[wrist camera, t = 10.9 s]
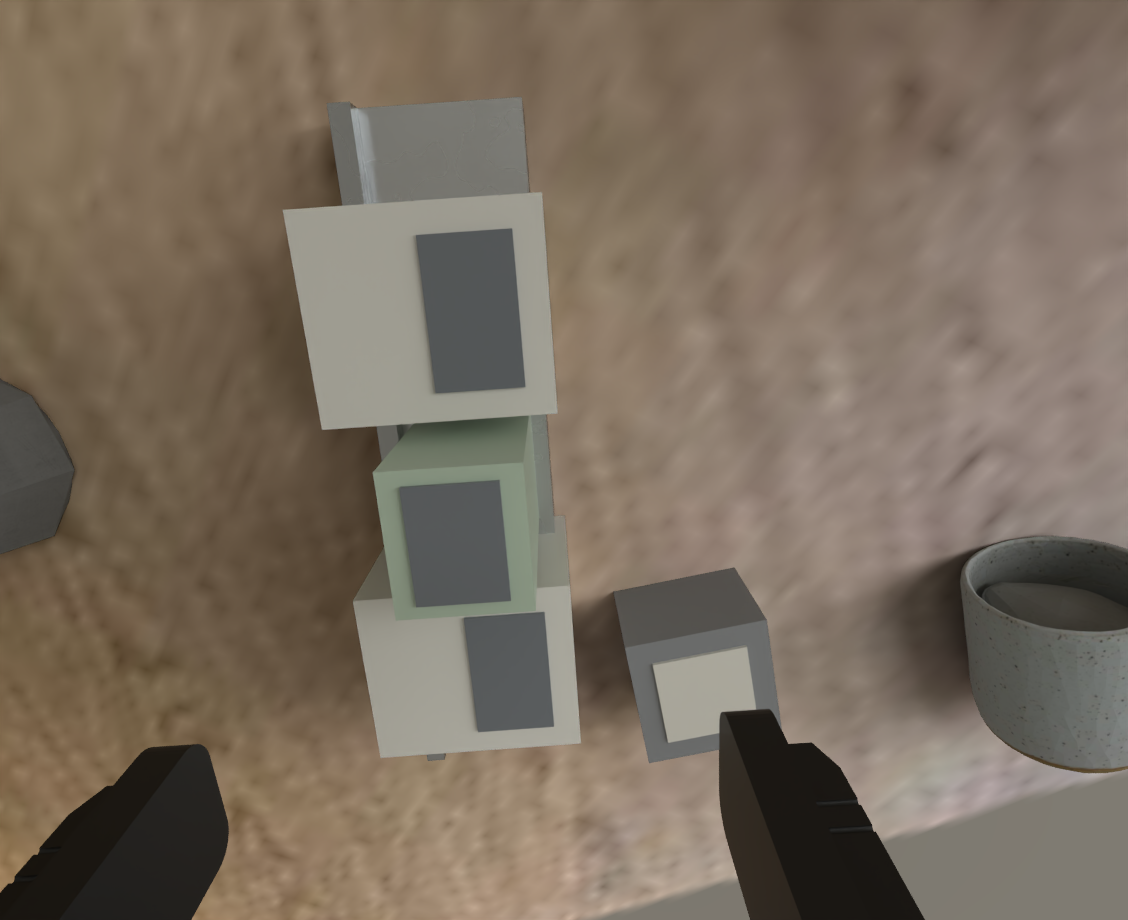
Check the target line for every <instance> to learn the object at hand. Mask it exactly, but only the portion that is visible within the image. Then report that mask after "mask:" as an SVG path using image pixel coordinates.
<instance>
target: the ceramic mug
mask: <svg viewBox="0 0 1128 920" xmlns="http://www.w3.org/2000/svg"><path fill="white" fill-rule="evenodd" d="M960 585H961V594H962V603H963V612H964V621H965V633H966V641H967V649H968V659H969V676H970V682H971V687H972V692H973V696H974V699H975V702H976V704H977V707H978V710H979V712H980V715H981V717H982V718H983V720H984V722H985V723H986V725H987V726H988V727H989V728H990V730H991V731H992V732H993V733H994V734H995V735H996V736H997V737H998V738H1000V739H1001V740H1002V741H1003V742H1004V743H1005V744H1007V745H1008V746H1010V747H1011V748H1013V749H1014V750H1016V751H1018V752H1020V753H1021V754H1023V755H1025V756H1027V757H1029V758H1031V759H1034V760H1036V761H1038V762H1040V763H1043V764H1046V765H1049V766H1052V767H1056V768H1060V769H1065V770H1071V771H1076V772H1082V773H1109V772H1115V771H1121V770H1125V769H1128V549H1126V548H1123V547H1119V546H1116V545H1113V544H1110V543H1106V542H1099V541H1095V540H1089V539H1080V538H1075V537H1058V536H1040V537H1027V538H1020V539H1014V540H1009V541H1004V542H1001V543H997V544H994V545H992V546H988V547H986V548H984V549H982V550H980V551H978V552H977V553H975V554H974V555H973V556H972V557H970V558H969V560H968V561H967V562H966V563H965V564H964V566H963V568H962V572H961V578H960Z"/></svg>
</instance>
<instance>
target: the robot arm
mask: <svg viewBox="0 0 1128 920" xmlns="http://www.w3.org/2000/svg"><path fill="white" fill-rule="evenodd" d="M719 796H720V807H721V814H722V820H723V826H724V831H725V835H726V839H727V842H728V846H729V849H730V852H731V856H732V859H733V863H734V866H735V869H736V873H737V876H738V880H739V883H740V887H741V890H742V893H743V897H744V900H745V904H746V907H747V911H748V914H749V917H750V920H925V919H924V918H923V916H922V914H921V912H920V910H919V908H918V907H917V905H916V903H915V901H914V899H913V898H912V896H911V894H910V892H909V890H908V889H907V887H906V885H905V883H904V882H903V880H902V878H901V876H900V875H899V873H898V871H897V869H896V867H895V865H894V863H893V862H892V860H891V858H890V856H889V854H888V853H887V851H886V849H885V847H884V845H883V844H882V842H881V840H880V838H879V837H878V835H877V833H876V832H874V831H873V829H872V824H871V822H870V820H869V819H868V817H867V815H866V813H865V811H864V810H863V808H862V806H861V805H859V804H858V800H857V797H856V795H855V793H854V792H853V790H852V788H851V786H850V784H849V783H848V781H847V779H846V777H845V775H844V774H843V772H842V770H841V768H840V767H839V766H838V765H837V764H835V763H834V762H833V761H832V760H831V759H830V758H829V757H828V756H826V755H825V754H824V753H823V752H822V751H821V750H820V749H818V748H817V747H816V746H815V745H814V744H813V743H798V744H788V742H787V740H786V738H785V736H784V734H783V732H782V730H781V728H780V726H779V724H778V721H777V719H776V717H775V715H774V714H773V712H772V711H771V710H770V709H758V710H742V711H727V712H721V714H720V720H719ZM228 834H229V828H228V820H227V816H226V812H225V809H224V805H223V802H222V798H221V794H220V791H219V787H218V784H217V780H216V776H215V773H214V769H213V766H212V762H211V759H210V755H209V753H208V751H207V749H206V748H205V747H204V746H203V745H200V744H193V745H178V746H163V747H151V748H148V749H146V750H144V751H143V752H142V753H141V754H140V755H139V756H138V757H137V758H136V759H135V760H134V762H133V763H132V764H131V765H130V766H129V768H128V769H127V770H126V771H125V772H124V773H123V775H122V776H121V777H120V778H119V779H118V781H117V782H116V783H115V784H114V785H113V786H106V787H105V788H104V789H102V790H101V791H100V792H98V793H97V794H96V795H94V796H93V797H92V798H90V799H89V800H88V801H86V802H85V803H84V804H82V805H81V806H80V807H78V808H77V809H76V810H75V811H73V812H72V813H71V814H69V815H68V816H67V817H66V819H65V820H64V821H63V822H62V823H61V824H60V825H59V826H58V828H57V829H56V830H55V831H54V832H53V833H52V834H51V836H50V837H49V838H48V839H47V840H46V841H45V842H44V844H43V845H42V846H41V847H40V848H39V849H40V851H39V853H38V855H33V856H32V857H31V858H30V860H29V861H28V862H27V863H26V864H25V865H24V866H23V867H22V869H21V870H20V871H19V872H18V873H17V874H16V875H15V880H14V882H13V883H12V884H8V885H7V886H6V887H5V888H4V889H3V890H2V891H1V893H0V920H191V919H192V917H193V916H194V914H195V912H196V910H197V908H198V907H199V905H200V903H201V901H202V899H203V897H204V896H205V894H206V892H207V890H208V888H209V887H210V885H211V883H212V881H213V879H214V878H215V876H216V874H217V872H218V870H219V868H220V866H221V864H222V862H223V859H224V856H225V853H226V848H227V843H228Z"/></svg>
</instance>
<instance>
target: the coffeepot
mask: <svg viewBox="0 0 1128 920" xmlns="http://www.w3.org/2000/svg"><path fill="white" fill-rule="evenodd" d="M73 473H74V467H73V464H72V462H71V459H70V457H69V454H68V452H67V449H66V447H65V445H64V443H63V441H62V438H61V436H60V434H59V432H58V430H57V429H56V428H55V426H54V425H53V423H52V422H51V420H50V419H49V418H48V416H47V415H46V414H45V413H44V412H43V411H42V410H41V409H40V408H39V407H38V406H37V404H36V403H35V401H34V399H33V398H32V396H31V395H29V394H27V393H26V392H24V391H22V390H20V389H18V388H16V387H14V386H12V385H10V384H8V383H7V382H5V381H3V380H1V379H0V554H2V553H5V552H8V551H11V550H14V549H17V548H20V547H23V546H26V545H29V544H32V543H35V542H38V541H41V540H43V539H46V538H49V537H52V536H55V533H56V530H57V528H58V525H59V523H60V520H61V518H62V515H63V513H64V511H65V509H66V506H67V504H68V502H69V498H70V493H71V487H72V477H73Z"/></svg>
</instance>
